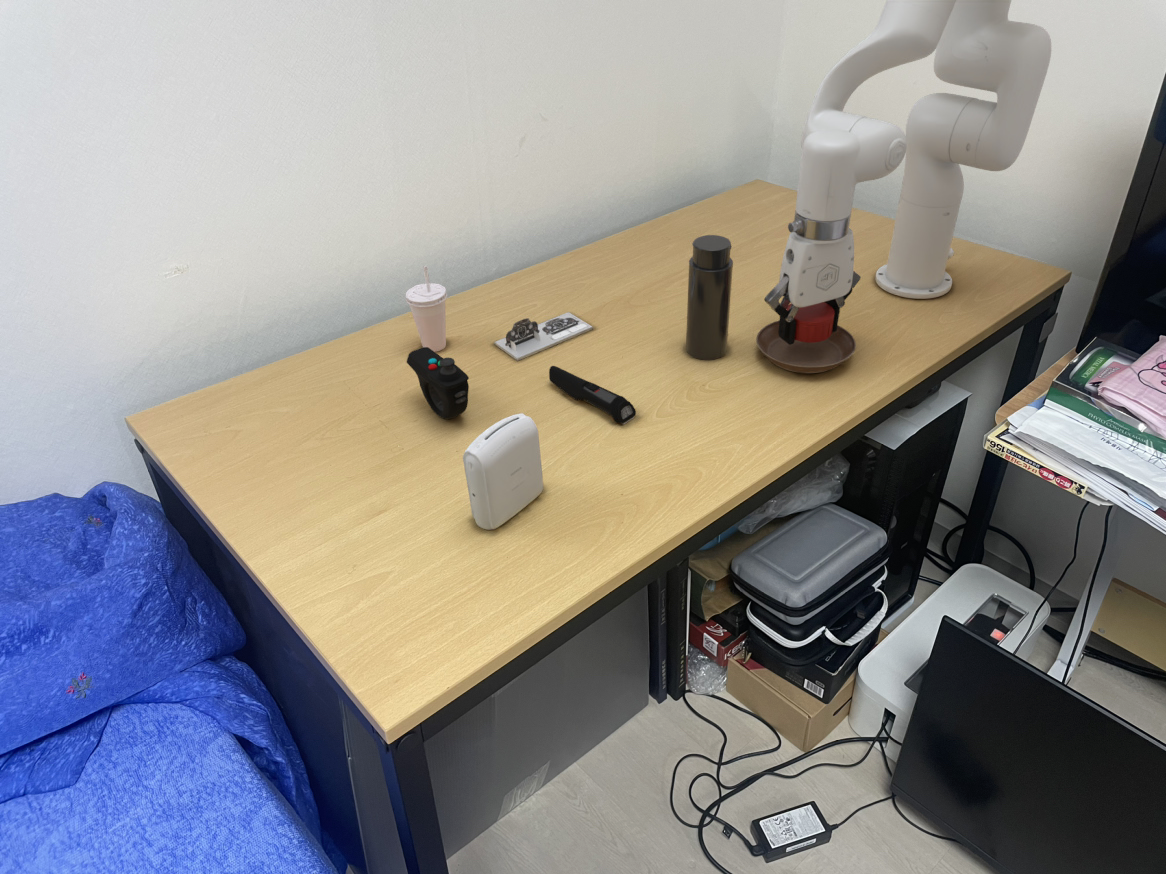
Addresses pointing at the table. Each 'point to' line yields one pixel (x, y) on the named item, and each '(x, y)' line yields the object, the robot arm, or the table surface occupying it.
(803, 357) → the saucer
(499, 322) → the table surface
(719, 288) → the thermos
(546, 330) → the car cutout
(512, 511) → the photo printer
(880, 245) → the table surface
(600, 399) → the electric trimmer
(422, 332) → the smoothie
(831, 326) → the lid
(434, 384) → the controller
